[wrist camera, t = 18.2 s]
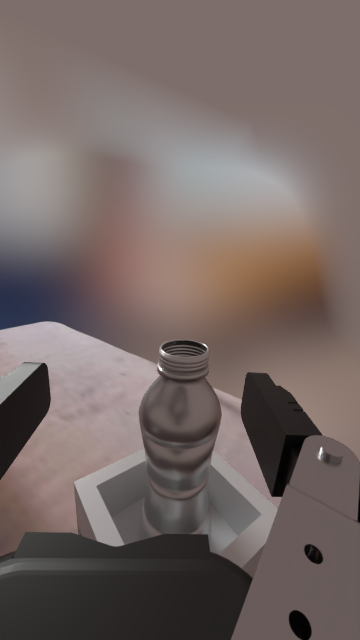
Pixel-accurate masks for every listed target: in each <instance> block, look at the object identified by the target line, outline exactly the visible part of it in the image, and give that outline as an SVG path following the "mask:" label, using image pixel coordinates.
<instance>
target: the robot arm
mask: <svg viewBox="0 0 360 640" xmlns="http://www.w3.org/2000/svg"><path fill="white" fill-rule="evenodd" d="M50 401H51V396H50V386H49V376H48V367H47V365H46V364H45V363H32V362H24V363H22V364H21V365H20V366H18V367H17V368H16V369H15V370H14V371H13V372H11V373H10V374H7V375H5V376H3V377H1V378H0V480H1V478H2V477H3V475H4V474H5V473H6V471H7V470H8V468H9V467H10V465H11V464H12V463H13V461H14V460H15V458H16V457H17V455H18V454H19V453H20V451H21V450H22V448H23V447H24V446H25V444H26V443H27V441H28V440H29V438H30V437H31V436H32V434H33V433H34V431H35V430H36V428H37V427H38V426H39V424H40V423H41V421H42V420H43V418H44V417H45V416H46V414H47V412H48V410H49V407H50ZM241 417H242V421H243V424H244V426H245V429H246V432H247V434H248V437H249V439H250V442H251V445H252V447H253V450H254V452H255V455H256V457H257V460H258V463H259V465H260V468H261V470H262V473H263V476H264V478H265V481H266V483H267V486H268V489H269V491H270V494H271V496H272V497H282V499H281V502H280V505H279V508H278V510H277V513H276V516H275V519H274V521H273V524H272V527H271V530H270V533H269V535H268V538H267V541H266V544H265V546H264V549H263V552H262V555H261V558H260V560H259V563H258V566H257V569H256V571H255V574H254V577H253V578H252V577H251V576H250V575H249V574H248V573H247V572H245V571H244V570H243V569H242V568H241V567H239V566H238V565H236V564H235V563H233V562H232V561H230V560H229V559H227V558H225V557H223V556H220V555H218V554H216V553H213V552H210V546H209V538H208V534H162V535H158V536H155V537H151V538H147V539H144V540H140V541H137V542H133V543H129V544H126V545H122V546H110V545H107V544H104V543H101V542H98V541H95V540H92V539H89V538H86V537H83V536H80V535H77V534H74V533H47V532H25V534H24V536H23V538H22V540H21V542H20V544H19V546H18V548H17V550H16V551H14V552H11V553H8V554H5V555H3V556H0V640H360V462H359V460H358V458H357V456H356V455H355V454H354V453H353V452H352V451H351V450H350V449H349V448H348V447H347V446H345V445H344V444H342V443H340V442H338V441H336V440H334V439H332V438H329V437H326V436H323V435H322V434H321V432H320V431H319V430H318V428H317V427H316V426H315V425H314V423H313V422H312V421H311V419H310V418H309V417H308V415H307V414H306V413H305V412H303V409H302V408H301V406H300V405H299V404H298V403H297V401H296V400H295V398H294V397H293V396H292V394H291V393H289V392H288V391H287V390H285V389H284V388H282V387H281V386H276V385H275V384H274V382H273V381H272V379H271V378H270V377H269V375H268V374H267V373H251V372H248V373H247V375H246V378H245V385H244V391H243V397H242V403H241Z"/></svg>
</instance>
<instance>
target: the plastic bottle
mask: <svg viewBox="0 0 360 640" xmlns="http://www.w3.org/2000/svg"><path fill="white" fill-rule="evenodd" d="M208 360H209V347H208V346H207V345H205V344H204V343H201V342H199V341H195V340H188V339H176V340H170V341H167V342H164V343H163V344H161V346H160V351H159V362H158V364H157V371H158V373H159V374H160V376H159V377H158V378H157V379H156V380H155V381H154V382H153V384H152V385H151V386H150V387H149V389H148V390H147V391H146V393H145V394H144V396H143V398H142V401H141V404H140V407H139V421H140V427H141V433H142V438H143V444H144V449H145V461H146V477H147V478H146V487H145V497H144V502H143V505H142V509H141V515H140V522H139V531H140V536H141V540H144V539H147V538H151V537H155V536H158V535H162V534H208V538H210V534H211V511H210V505H209V492H208V478H209V471H210V465H211V459H212V452H213V449H214V445H215V441H216V437H217V434H218V430H219V427H220V422H221V416H222V413H221V407H220V403H219V399H218V397H217V395H216V393H215V392H214V390H213V388H212V386H211V385H210V384H209V382H208V381H207V380H206V378H205V377H206V376H207V375H208V373H209V364H208Z"/></svg>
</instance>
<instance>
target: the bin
mask: <svg viewBox="0 0 360 640" xmlns="http://www.w3.org/2000/svg"><path fill="white" fill-rule="evenodd" d="M146 478H147V477H146V461H145V449H142V450H140V451H137V452H135V453H133V454H131V455H129V456H127V457H125V458H123V459H121V460H119V461H117V462H114V463H112V464H110V465H108V466H106V467H104V468H102V469H100V470H98V471H96V472H94V473H92V474H89V475H87V476H85V477H83V478H81V479H79V480H77V481H75V482H74V491H75V502H76V514H77V525H78V530H79V533H80V536H83V537H86V538H89V539H92V540H95V541H98V542H101V543H104V544H107V545H110V546H122V545H126V544H129V543H133V542H137V541H140V540H141V536H140V531H139V522H140V515H141V509H142V505H143V502H144V497H145V487H146ZM208 492H209V505H210V511H211V534H210V538H209V546H210V552H213V553H216V554H218V555H220V556H223V557H225V558H227V559H229V560H230V561H232V562H233V563H235V564H236V565H238V566H239V567H241V568H242V569H243V570H244V571H245V572H247V573H248V574H249V575H250V576H251V577H252V578H253V577H254V574H255V571H256V569H257V566H258V563H259V560H260V558H261V555H262V552H263V549H264V546H265V544H266V541H267V538H268V535H269V533H270V530H271V527H272V524H273V521H274V519H275V516H276V513H277V510H278V509H277V508H276V507H275V506H274V505H273V504H272V503H271V502H270V501H269V500H268V499H266V498H265V497H264V496H263V495H262V494H261V493H260V492H259V491H258V490H257V489H255V488H254V487H253V486H252V485H251V484H250V483H249V482H248V481H247V480H246V479H244V478H243V477H242V476H241V475H240V474H239V473H238V472H237V471H236V470H235V469H233V468H232V467H231V466H230V465H229V464H228V463H227V462H226V461H225V460H224V459H222V458H221V457H220V456H219V455H218V454H217V453H216V452H215V451H214V450H213V452H212V459H211V465H210V471H209V478H208Z"/></svg>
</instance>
